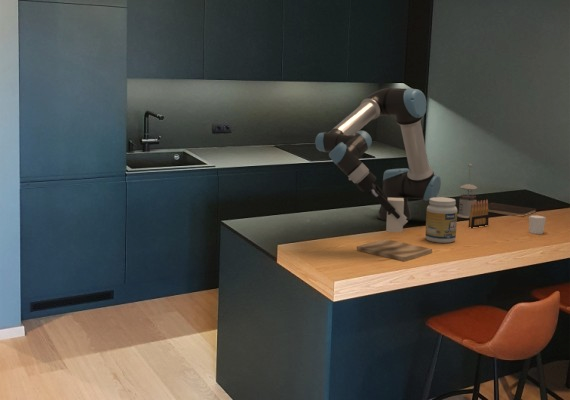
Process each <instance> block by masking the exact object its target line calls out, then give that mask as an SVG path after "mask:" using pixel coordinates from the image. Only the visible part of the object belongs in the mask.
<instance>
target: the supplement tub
mask: <svg viewBox="0 0 570 400" xmlns="http://www.w3.org/2000/svg"><path fill="white" fill-rule="evenodd" d="M428 202H429V204H428V205H427V207H426V218H425V234H424V235H425V237H424V238H425V239H426V240H427V241H429V242H433V243H437V244H438V243H439V244H448V243H453V242H455V241H456V239H457V238H456V237H457V225H458V223H457V222H458V221H457V220H458V216H457V214H458V208H457V206H456V205H457V203H456V199H455V198H452V197H451V198H450V197H442V196H441V197H438V196H437V197H434V198H430V200H428Z"/></svg>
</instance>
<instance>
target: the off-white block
mask: <svg viewBox="0 0 570 400" xmlns="http://www.w3.org/2000/svg"><path fill="white" fill-rule="evenodd" d="M387 200H388V202H389V203H390V204H391V205H392V206H393V207H394V208H395V209H396V210H397V211H398V212H399V213H400V214H401V215H402V216H403V213H404V198H388V199H387ZM385 225H386V228H385V230H386V233H403V231H404V226H401V225H400V224H399V223H398V221H397V220H396V219H395V218H394V217H393V216H392V215H391V214H390V215H388V212H387V221H386V224H385Z"/></svg>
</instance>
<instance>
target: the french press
mask: <svg viewBox="0 0 570 400" xmlns="http://www.w3.org/2000/svg"><path fill="white" fill-rule="evenodd" d="M467 167H473V164H472V163H468V165H467ZM470 173H471V170H469V175H468V180H470V175H471V174H470ZM460 189H462V190H466V191H467V194H460V198H459V200H458V201H459V203H458V205H459V206H458V213H457V218H463V219H469V216H470V211H471V205H472V202H474V203H475V201H476V202H478V201H477V196H476V195H475V194H474V195H473V194H470V193H473V191H474V190H478V187H477V186H476V185H474V184H471V183H465V184H463V185H461V186H460Z"/></svg>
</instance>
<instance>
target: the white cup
mask: <svg viewBox="0 0 570 400" xmlns="http://www.w3.org/2000/svg"><path fill="white" fill-rule="evenodd" d="M546 219H547V217H546V216H543V215H536V214H535V215H534V214H533V215H532V214H530V215H528V232H529V233H530V234H534V235H542V234H544V230H545V223H546Z"/></svg>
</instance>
